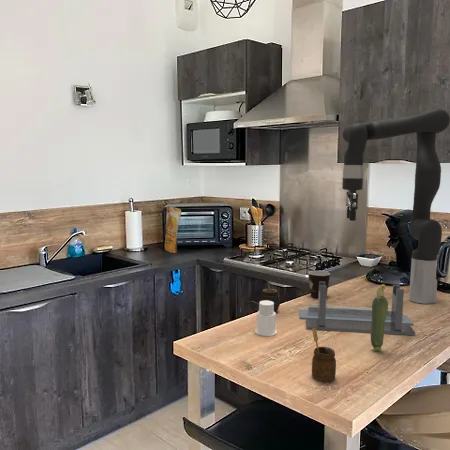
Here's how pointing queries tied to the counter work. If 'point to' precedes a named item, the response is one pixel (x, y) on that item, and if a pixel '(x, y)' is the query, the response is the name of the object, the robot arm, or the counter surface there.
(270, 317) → the downlight
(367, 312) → the steel rail
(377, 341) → the vegetable
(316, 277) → the coffee mug
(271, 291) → the mate gourd
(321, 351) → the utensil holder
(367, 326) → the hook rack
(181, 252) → the counter surface
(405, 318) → the blue-gray flat board
